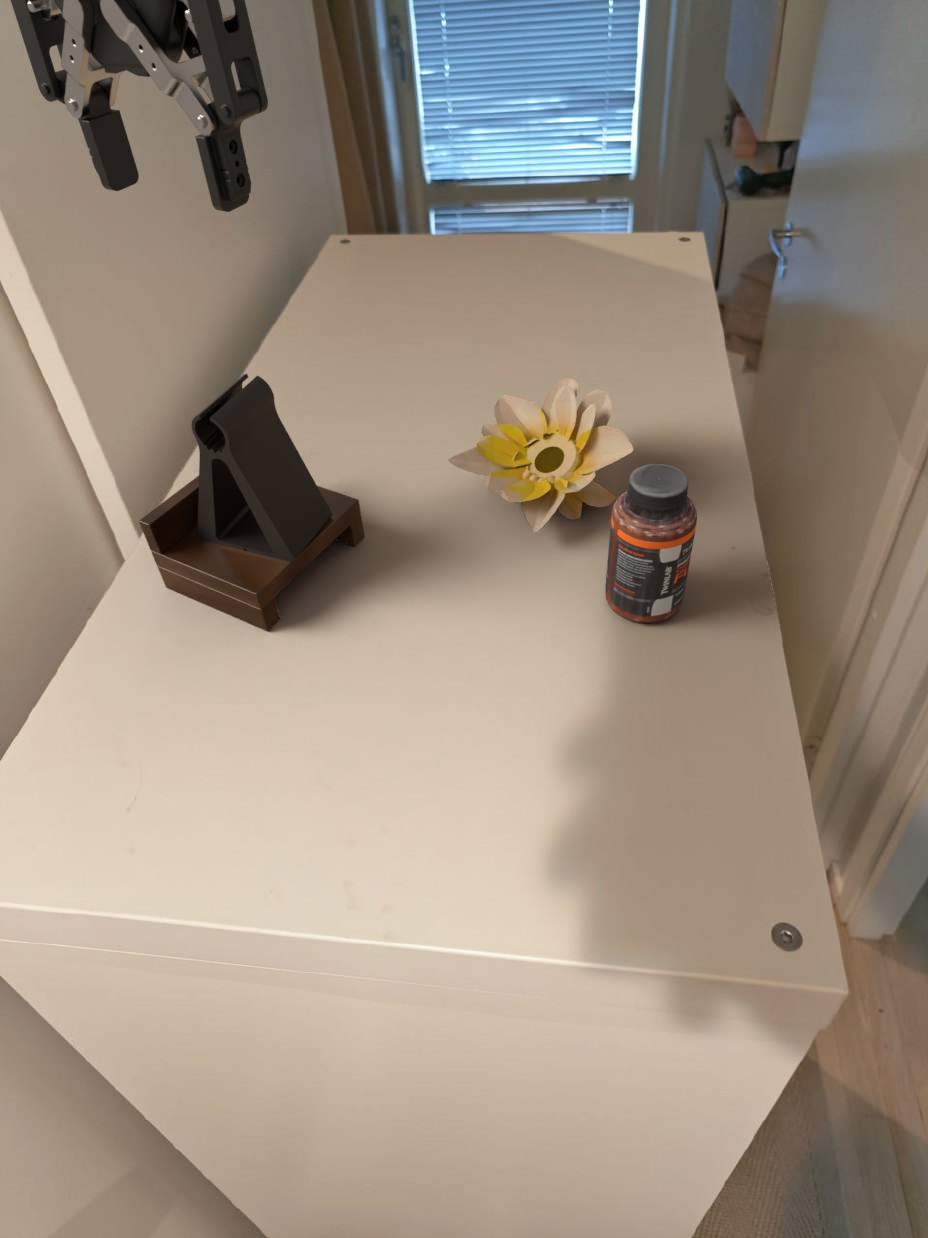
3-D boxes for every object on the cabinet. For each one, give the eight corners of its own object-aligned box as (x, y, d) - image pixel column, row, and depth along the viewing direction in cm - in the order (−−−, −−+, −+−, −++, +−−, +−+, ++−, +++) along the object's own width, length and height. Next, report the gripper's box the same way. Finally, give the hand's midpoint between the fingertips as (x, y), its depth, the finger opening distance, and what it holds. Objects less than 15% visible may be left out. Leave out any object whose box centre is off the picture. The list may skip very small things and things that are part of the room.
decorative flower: (424, 458, 78) (443, 355, 71) (522, 442, 83) (548, 346, 77) (516, 554, 69) (546, 447, 63) (618, 529, 75) (656, 429, 68)
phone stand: (198, 538, 68) (151, 405, 59) (240, 495, 71) (201, 365, 63) (294, 563, 65) (259, 427, 56) (333, 517, 69) (305, 383, 60)
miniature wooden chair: (268, 632, 65) (246, 563, 60) (165, 587, 70) (138, 520, 65) (365, 536, 73) (353, 468, 68) (267, 502, 77) (249, 436, 72)
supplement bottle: (683, 630, 63) (705, 508, 55) (602, 624, 64) (613, 503, 56) (681, 576, 67) (702, 456, 59) (605, 571, 68) (616, 452, 60)
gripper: (-113, -192, 37) (39, 202, 48) (114, -212, 31) (225, 239, 43) (27, -201, 41) (136, 162, 53) (249, -220, 36) (317, 190, 47)
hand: (176, 196), depth 48 cm, fingers open, 8 cm apart
